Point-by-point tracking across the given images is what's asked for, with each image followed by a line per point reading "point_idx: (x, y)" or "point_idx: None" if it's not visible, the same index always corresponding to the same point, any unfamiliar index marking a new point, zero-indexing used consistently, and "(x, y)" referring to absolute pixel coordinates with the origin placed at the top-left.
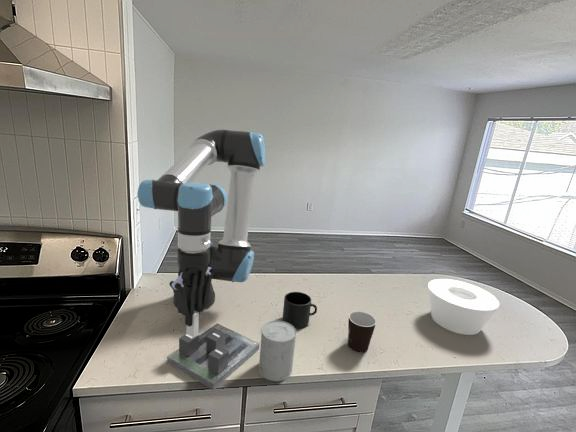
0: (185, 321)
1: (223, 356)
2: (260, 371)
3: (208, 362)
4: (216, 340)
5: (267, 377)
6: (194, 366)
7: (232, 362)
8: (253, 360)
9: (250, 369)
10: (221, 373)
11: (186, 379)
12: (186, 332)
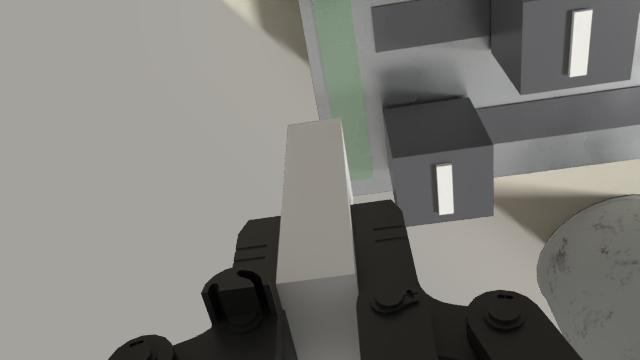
0: (237, 257)
1: (442, 217)
2: (554, 242)
3: (386, 130)
4: (530, 91)
5: (540, 280)
6: (339, 43)
7: (505, 155)
8: (612, 164)
9: (545, 195)
10: None
11: (280, 37)
12: (288, 131)
